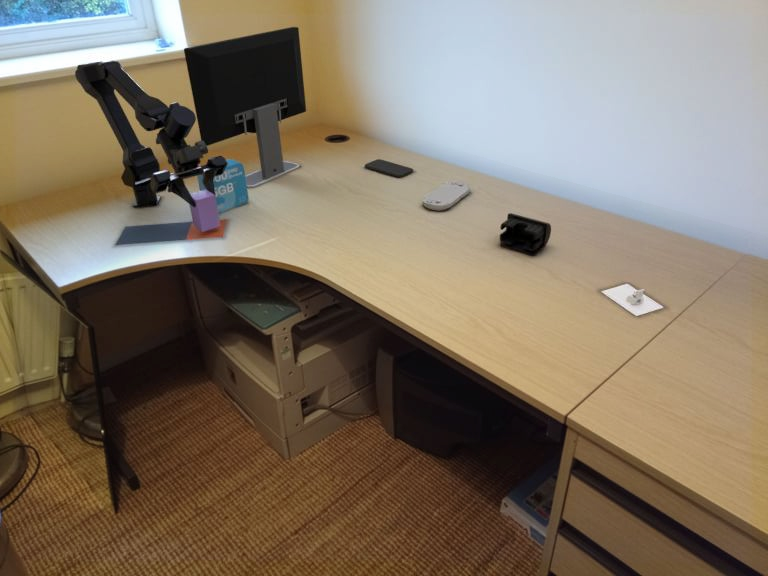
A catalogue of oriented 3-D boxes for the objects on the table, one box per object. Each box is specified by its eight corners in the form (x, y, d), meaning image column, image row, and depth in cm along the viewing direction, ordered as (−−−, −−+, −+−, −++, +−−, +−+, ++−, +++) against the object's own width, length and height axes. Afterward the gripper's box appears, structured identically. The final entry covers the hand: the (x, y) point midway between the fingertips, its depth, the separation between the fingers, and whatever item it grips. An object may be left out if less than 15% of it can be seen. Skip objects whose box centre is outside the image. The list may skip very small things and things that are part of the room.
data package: (212, 215, 158) (204, 173, 152) (203, 210, 161) (195, 169, 155) (249, 202, 166) (243, 161, 159) (240, 197, 168) (234, 157, 162)
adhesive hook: (633, 307, 116) (637, 293, 115) (624, 300, 118) (627, 287, 117) (645, 303, 117) (649, 290, 116) (636, 297, 119) (639, 284, 118)
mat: (115, 246, 144) (114, 245, 144) (125, 227, 153) (125, 226, 153) (222, 238, 147) (222, 236, 147) (227, 220, 156) (226, 219, 155)
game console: (445, 205, 154) (418, 199, 158) (445, 214, 155) (418, 208, 159) (474, 183, 167) (448, 178, 171) (474, 191, 168) (448, 186, 172)
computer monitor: (301, 153, 200) (288, 26, 179) (320, 158, 195) (309, 27, 174) (206, 193, 172) (177, 47, 151) (226, 199, 168) (199, 50, 147)
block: (193, 225, 149) (187, 194, 145) (211, 219, 152) (205, 189, 148) (202, 232, 146) (196, 200, 142) (220, 226, 149) (215, 194, 144)
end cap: (549, 245, 139) (553, 219, 136) (535, 257, 134) (539, 230, 131) (511, 234, 145) (513, 209, 141) (497, 245, 140) (499, 219, 136)
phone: (399, 176, 178) (363, 165, 186) (399, 178, 178) (363, 167, 186) (414, 169, 182) (378, 158, 191) (414, 171, 183) (378, 161, 191)
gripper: (143, 140, 134) (173, 199, 133) (217, 123, 144) (246, 178, 143) (138, 164, 144) (167, 220, 142) (208, 147, 154) (235, 198, 152)
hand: (204, 203), depth 145 cm, fingers closed on block, 5 cm apart
